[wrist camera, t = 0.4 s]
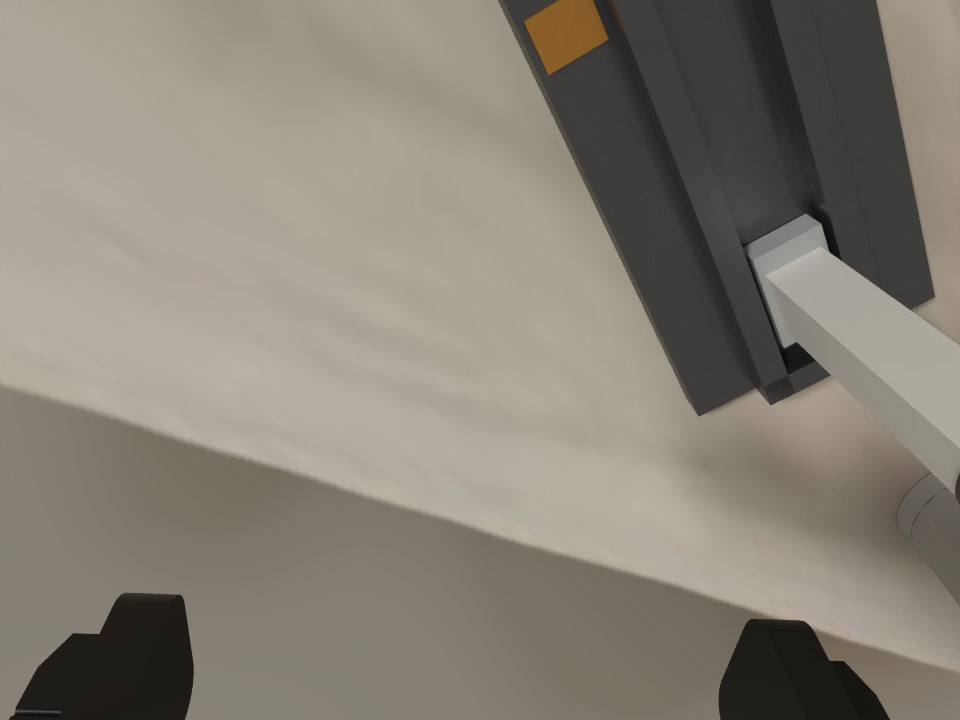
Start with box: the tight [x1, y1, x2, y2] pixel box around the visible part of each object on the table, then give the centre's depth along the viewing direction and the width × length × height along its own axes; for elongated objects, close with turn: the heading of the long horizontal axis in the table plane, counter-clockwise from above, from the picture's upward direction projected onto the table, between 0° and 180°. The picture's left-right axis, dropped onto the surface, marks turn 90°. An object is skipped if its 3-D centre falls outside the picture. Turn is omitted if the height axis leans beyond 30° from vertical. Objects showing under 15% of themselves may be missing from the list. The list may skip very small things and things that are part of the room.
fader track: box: [498, 0, 935, 416], centre depth 29 cm, size 24×12×3 cm, turn 28°
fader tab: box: [743, 214, 960, 505], centre depth 26 cm, size 5×4×15 cm
